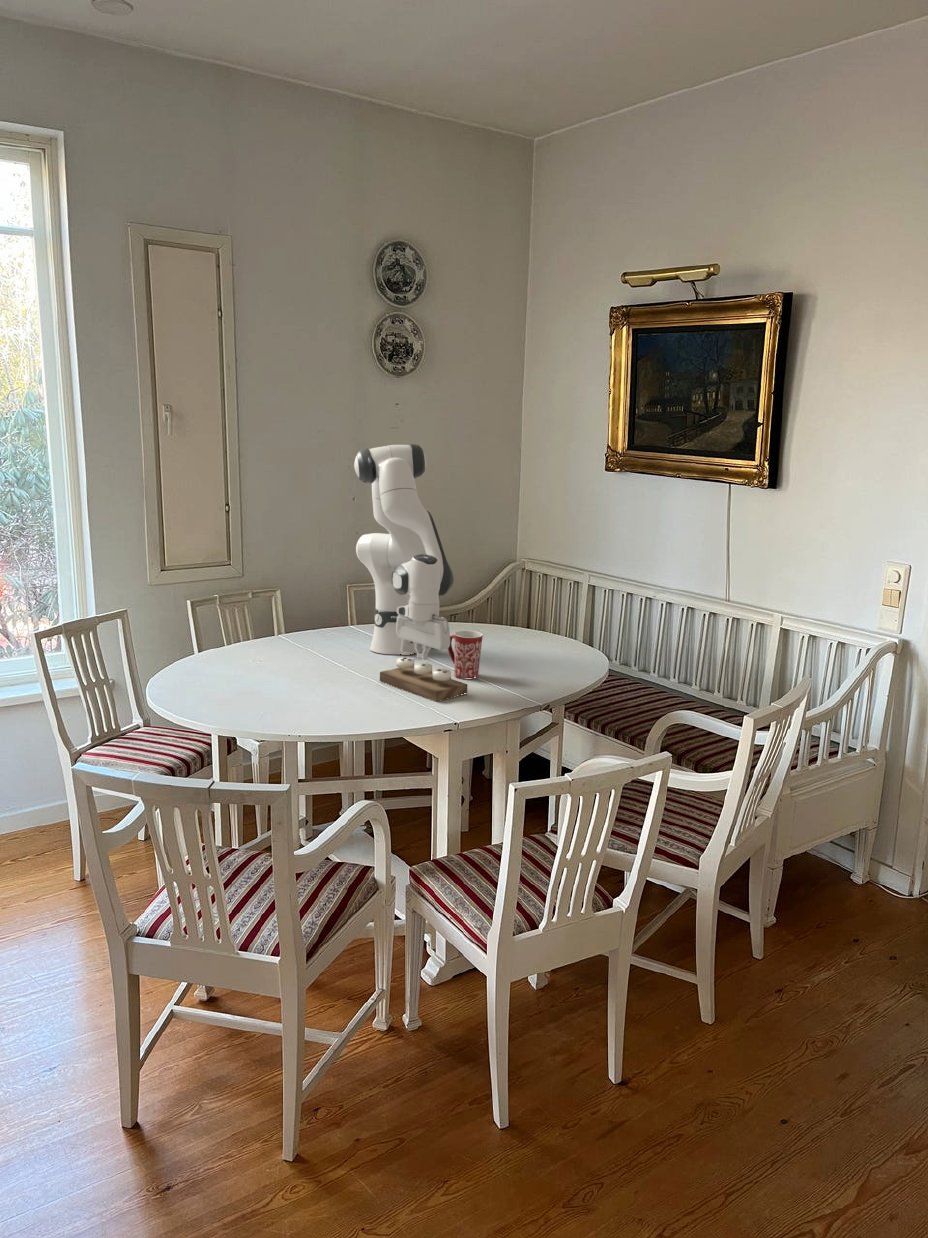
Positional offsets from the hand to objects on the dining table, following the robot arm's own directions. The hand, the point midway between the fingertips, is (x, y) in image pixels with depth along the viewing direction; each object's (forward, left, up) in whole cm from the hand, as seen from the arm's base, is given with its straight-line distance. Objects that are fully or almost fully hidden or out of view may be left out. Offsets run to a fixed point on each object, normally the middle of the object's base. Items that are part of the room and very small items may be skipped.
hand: (422, 658), depth 273 cm
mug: (-20, -3, -9) cm, 22 cm away
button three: (-1, -8, -4) cm, 9 cm away
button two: (-1, +8, -4) cm, 9 cm away
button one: (-1, 0, -4) cm, 4 cm away
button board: (-1, 0, -9) cm, 9 cm away
